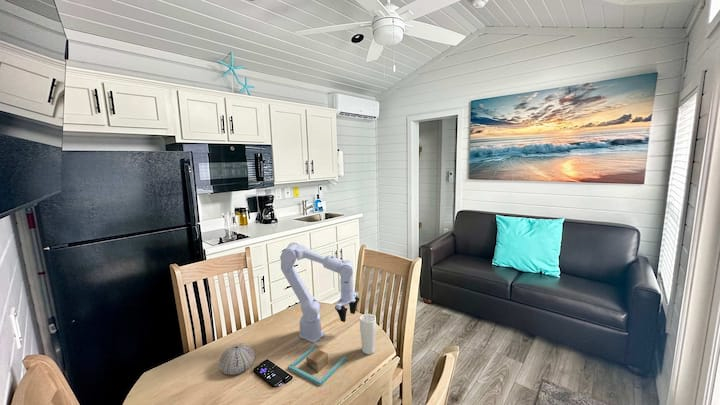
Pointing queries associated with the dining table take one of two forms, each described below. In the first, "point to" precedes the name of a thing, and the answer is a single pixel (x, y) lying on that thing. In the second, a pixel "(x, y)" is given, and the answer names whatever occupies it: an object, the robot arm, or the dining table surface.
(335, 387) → the dining table surface
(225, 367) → the sea urchin shell
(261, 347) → the dining table surface
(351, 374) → the dining table surface
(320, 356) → the walnut block
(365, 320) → the white cup
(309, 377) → the frame
